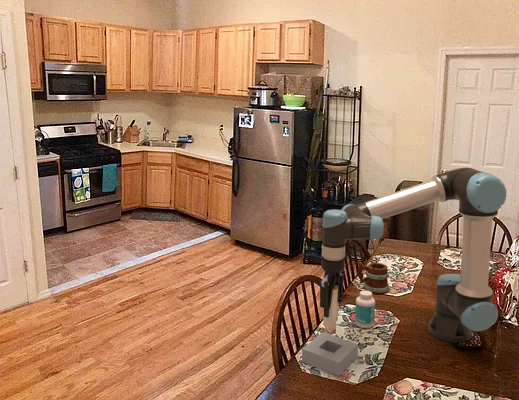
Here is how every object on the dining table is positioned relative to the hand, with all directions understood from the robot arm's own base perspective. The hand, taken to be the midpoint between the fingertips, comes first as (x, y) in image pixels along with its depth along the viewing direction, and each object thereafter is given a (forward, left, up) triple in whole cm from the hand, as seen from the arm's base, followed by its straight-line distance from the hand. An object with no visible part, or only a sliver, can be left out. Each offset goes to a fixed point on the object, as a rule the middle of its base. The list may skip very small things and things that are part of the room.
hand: (330, 322), depth 160 cm
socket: (0, 0, -14) cm, 14 cm away
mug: (+12, -63, -14) cm, 66 cm away
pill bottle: (+1, -30, -14) cm, 33 cm away
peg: (0, 0, -2) cm, 2 cm away
